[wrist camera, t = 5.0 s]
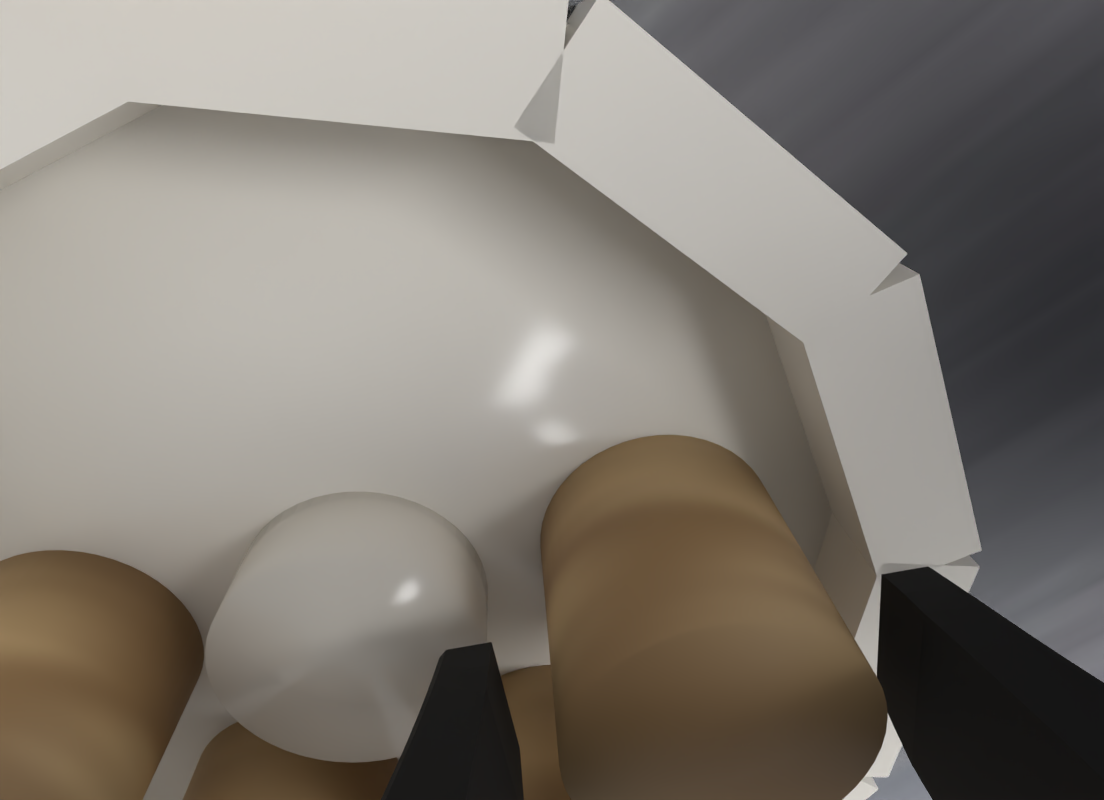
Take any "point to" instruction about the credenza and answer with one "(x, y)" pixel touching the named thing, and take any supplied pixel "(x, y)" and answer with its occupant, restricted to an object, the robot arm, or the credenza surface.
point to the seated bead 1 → (89, 676)
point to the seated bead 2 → (280, 773)
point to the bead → (696, 637)
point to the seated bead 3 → (535, 731)
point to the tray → (422, 333)
